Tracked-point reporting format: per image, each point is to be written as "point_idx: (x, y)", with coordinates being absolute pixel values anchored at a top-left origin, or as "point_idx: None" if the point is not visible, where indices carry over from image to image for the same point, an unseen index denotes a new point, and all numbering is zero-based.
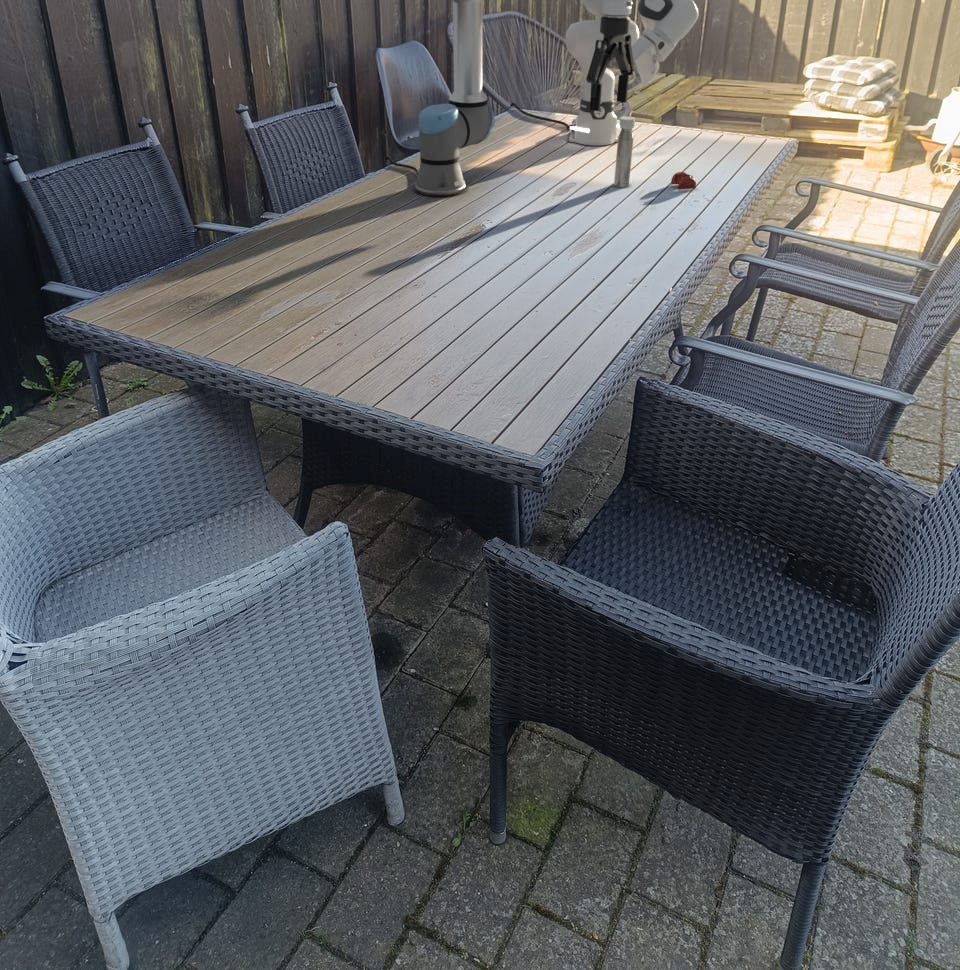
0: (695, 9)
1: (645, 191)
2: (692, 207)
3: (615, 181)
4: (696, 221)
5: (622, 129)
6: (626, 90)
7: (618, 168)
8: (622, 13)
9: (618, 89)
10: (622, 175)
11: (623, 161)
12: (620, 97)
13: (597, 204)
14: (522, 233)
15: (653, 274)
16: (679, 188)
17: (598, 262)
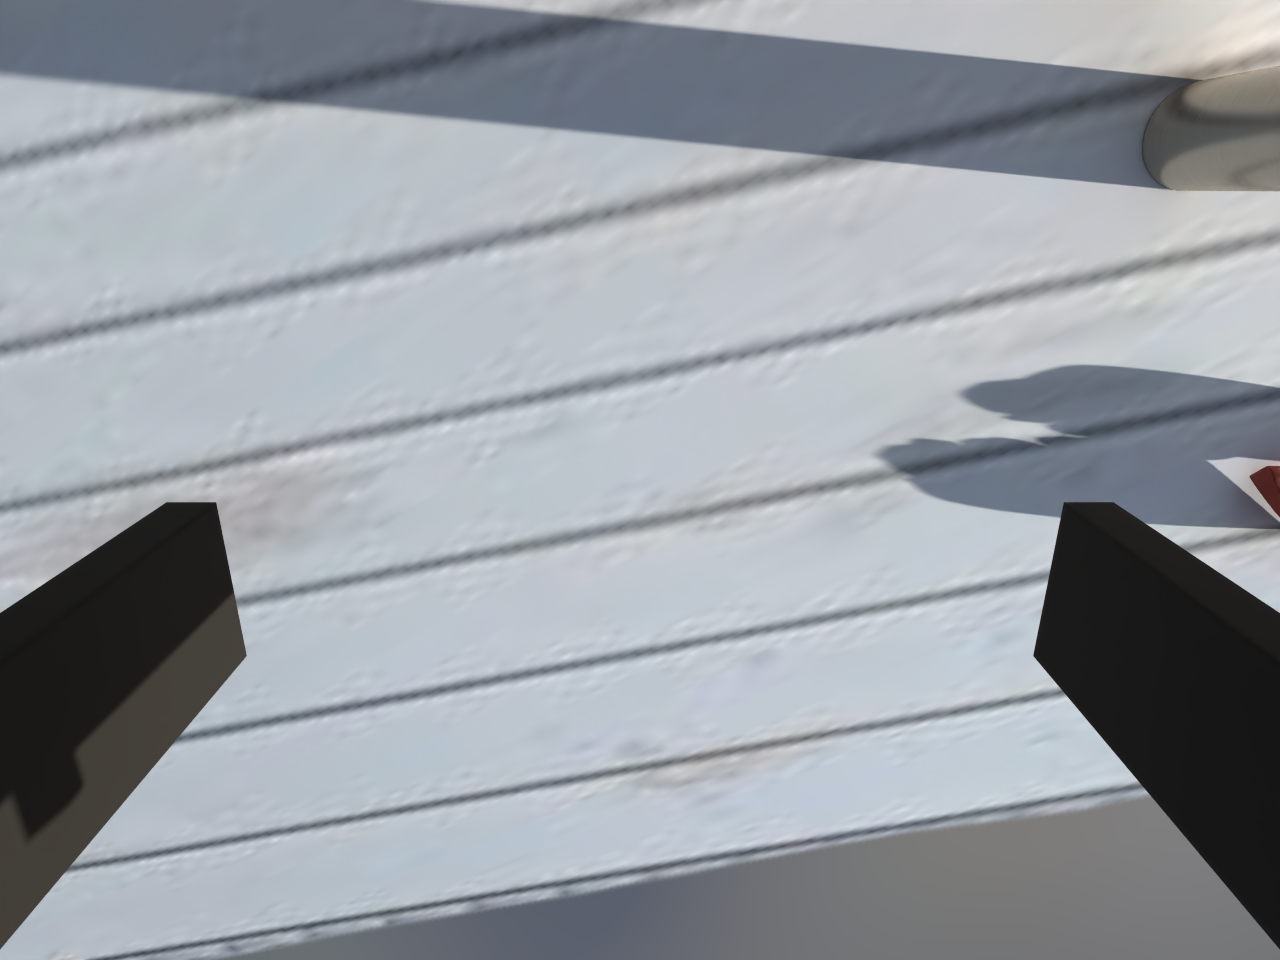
0: None
1: (1136, 334)
2: (977, 656)
3: (1173, 110)
4: (786, 751)
5: None
6: (1148, 788)
7: (1229, 122)
8: None
9: (1186, 619)
10: (1197, 163)
11: (1270, 157)
12: (1087, 602)
13: (734, 237)
14: (4, 185)
15: (128, 877)
16: (1253, 482)
17: None
